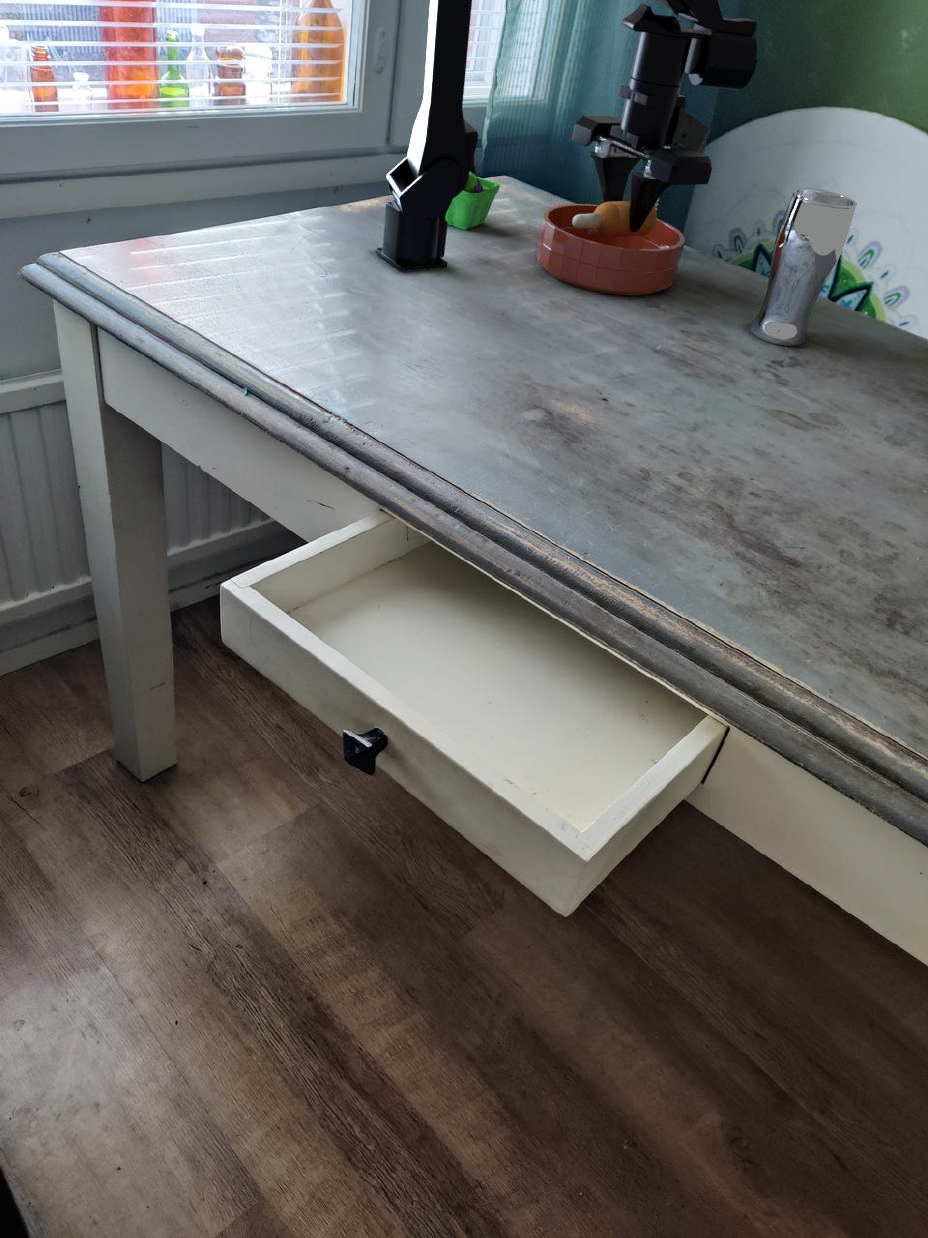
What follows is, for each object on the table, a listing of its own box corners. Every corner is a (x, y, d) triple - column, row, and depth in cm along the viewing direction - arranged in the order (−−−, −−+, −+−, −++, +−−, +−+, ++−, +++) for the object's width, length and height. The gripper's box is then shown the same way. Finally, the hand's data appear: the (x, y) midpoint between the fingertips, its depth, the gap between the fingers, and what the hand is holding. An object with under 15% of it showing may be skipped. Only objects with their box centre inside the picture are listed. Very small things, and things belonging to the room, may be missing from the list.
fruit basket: (497, 223, 128) (511, 132, 121) (463, 236, 122) (475, 140, 115) (427, 201, 132) (436, 111, 125) (390, 212, 126) (397, 118, 119)
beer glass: (809, 332, 110) (859, 196, 101) (806, 353, 105) (858, 211, 96) (749, 318, 111) (793, 182, 102) (744, 337, 106) (789, 196, 97)
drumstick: (638, 228, 120) (646, 195, 117) (658, 239, 117) (667, 205, 115) (560, 233, 114) (567, 198, 111) (580, 244, 111) (587, 209, 109)
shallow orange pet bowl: (628, 308, 109) (640, 260, 105) (508, 262, 116) (515, 215, 113) (696, 280, 120) (708, 235, 117) (582, 239, 127) (591, 196, 124)
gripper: (766, 102, 104) (723, 248, 113) (655, 65, 115) (624, 200, 125) (691, 100, 98) (653, 253, 108) (583, 61, 110) (557, 202, 120)
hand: (622, 225), depth 115 cm, fingers closed on drumstick, 4 cm apart
